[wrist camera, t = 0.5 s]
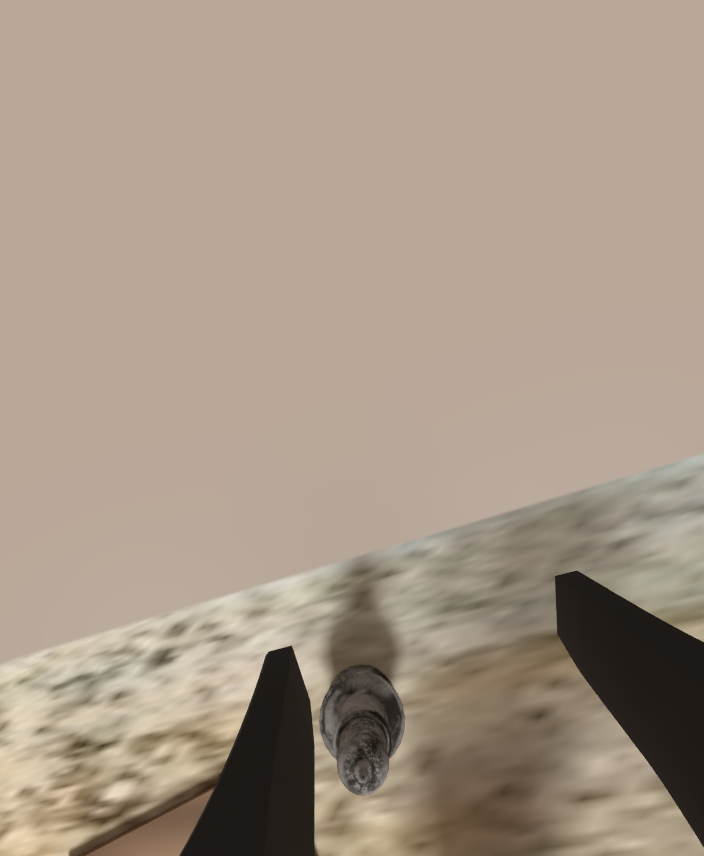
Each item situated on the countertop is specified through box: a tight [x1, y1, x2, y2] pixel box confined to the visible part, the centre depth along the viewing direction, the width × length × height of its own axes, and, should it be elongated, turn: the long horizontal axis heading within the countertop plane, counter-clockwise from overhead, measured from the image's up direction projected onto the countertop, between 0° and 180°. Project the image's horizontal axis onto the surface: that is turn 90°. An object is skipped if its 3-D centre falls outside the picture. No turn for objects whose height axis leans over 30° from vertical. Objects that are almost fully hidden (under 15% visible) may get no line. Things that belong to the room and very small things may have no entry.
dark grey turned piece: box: [319, 665, 405, 796], centre depth 27 cm, size 6×6×12 cm
